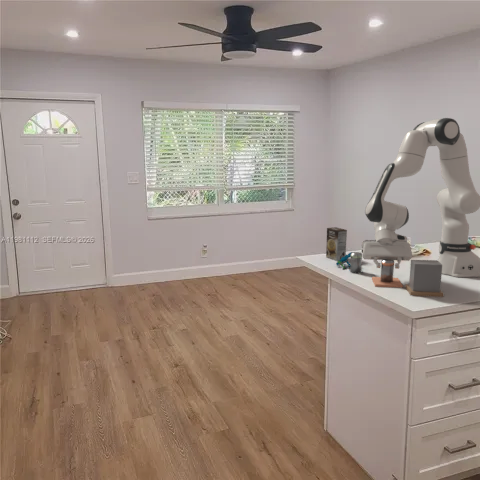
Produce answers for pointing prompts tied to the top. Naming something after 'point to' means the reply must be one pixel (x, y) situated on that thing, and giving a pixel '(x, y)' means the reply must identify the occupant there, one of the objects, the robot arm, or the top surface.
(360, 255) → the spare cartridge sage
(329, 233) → the coffee box
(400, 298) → the top surface
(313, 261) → the top surface
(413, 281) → the block
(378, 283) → the mat
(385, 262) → the terracotta cartridge
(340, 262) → the blue toy figure
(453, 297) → the top surface
